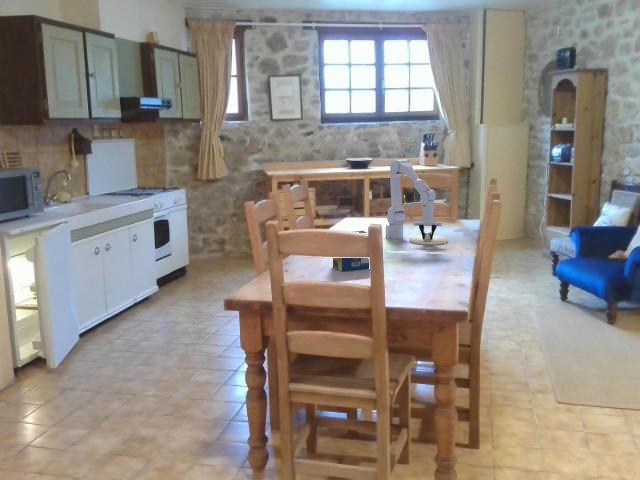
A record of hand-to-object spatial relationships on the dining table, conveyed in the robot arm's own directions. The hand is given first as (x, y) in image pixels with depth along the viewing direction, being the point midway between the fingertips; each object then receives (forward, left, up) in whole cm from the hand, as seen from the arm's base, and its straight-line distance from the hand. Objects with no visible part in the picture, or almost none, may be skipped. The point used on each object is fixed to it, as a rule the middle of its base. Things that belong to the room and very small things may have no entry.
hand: (427, 239), depth 314 cm
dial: (+3, +7, -2) cm, 8 cm away
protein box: (-46, -40, -4) cm, 61 cm away
